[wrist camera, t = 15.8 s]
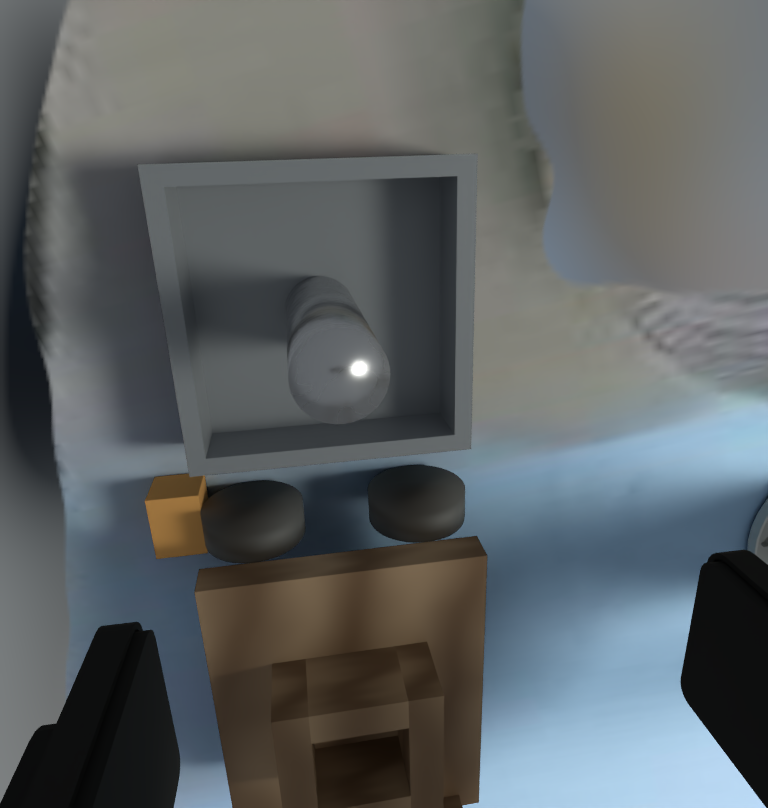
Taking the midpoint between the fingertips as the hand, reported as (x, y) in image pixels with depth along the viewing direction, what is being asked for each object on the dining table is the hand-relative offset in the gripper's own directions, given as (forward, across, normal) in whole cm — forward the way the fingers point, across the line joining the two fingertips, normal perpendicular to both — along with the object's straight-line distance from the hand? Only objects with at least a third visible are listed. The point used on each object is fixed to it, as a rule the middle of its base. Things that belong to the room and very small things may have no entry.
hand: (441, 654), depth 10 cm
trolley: (+28, +1, +23) cm, 36 cm away
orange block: (+28, +10, +12) cm, 32 cm away
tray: (+28, +1, 0) cm, 28 cm away
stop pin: (+27, +1, 0) cm, 27 cm away
